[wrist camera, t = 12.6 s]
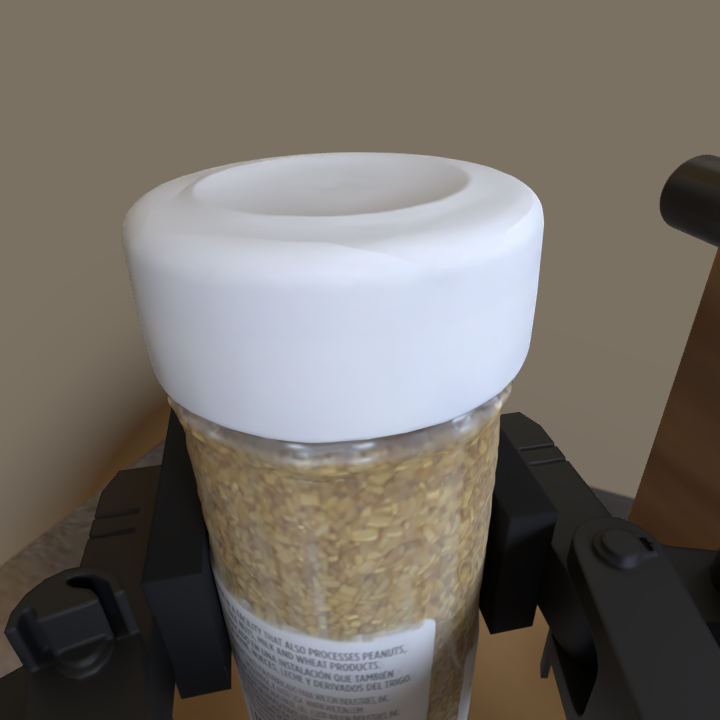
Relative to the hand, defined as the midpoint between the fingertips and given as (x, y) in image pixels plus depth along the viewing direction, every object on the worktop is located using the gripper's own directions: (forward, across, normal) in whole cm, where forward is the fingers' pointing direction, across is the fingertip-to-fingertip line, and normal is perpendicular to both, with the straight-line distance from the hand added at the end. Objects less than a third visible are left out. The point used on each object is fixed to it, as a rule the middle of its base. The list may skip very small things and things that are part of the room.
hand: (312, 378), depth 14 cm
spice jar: (-5, 0, -8) cm, 9 cm away
